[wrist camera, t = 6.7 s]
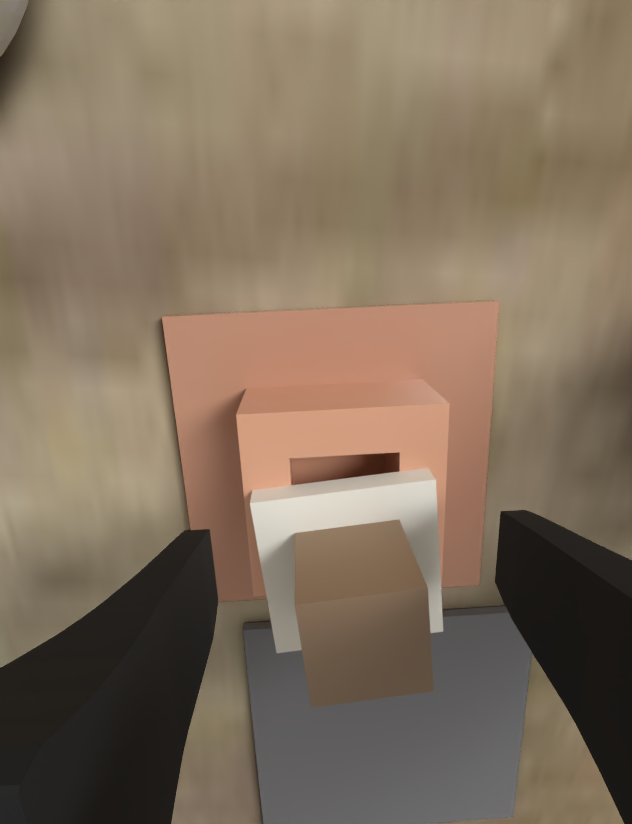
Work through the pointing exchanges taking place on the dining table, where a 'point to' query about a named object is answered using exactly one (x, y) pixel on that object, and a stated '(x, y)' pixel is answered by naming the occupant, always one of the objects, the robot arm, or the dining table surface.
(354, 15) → the dining table surface
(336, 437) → the salmon stepped square block
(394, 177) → the dining table surface
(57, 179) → the dining table surface
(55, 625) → the dining table surface
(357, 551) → the lid
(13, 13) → the teacup
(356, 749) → the mat
